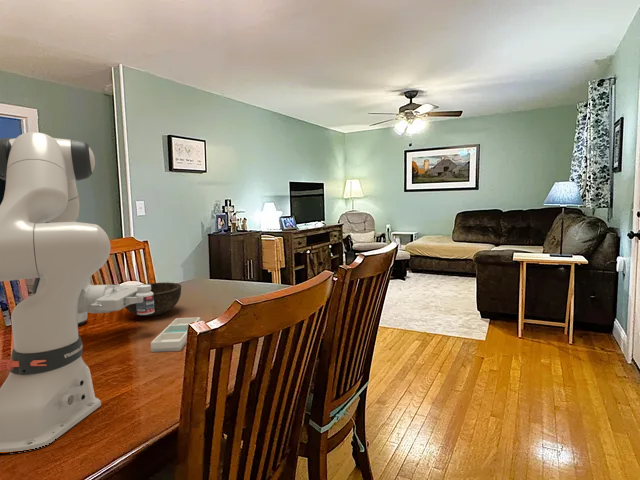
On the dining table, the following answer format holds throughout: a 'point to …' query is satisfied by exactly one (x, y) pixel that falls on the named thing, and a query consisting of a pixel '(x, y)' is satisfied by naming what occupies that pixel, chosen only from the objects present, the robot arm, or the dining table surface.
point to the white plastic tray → (173, 336)
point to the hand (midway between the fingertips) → (147, 296)
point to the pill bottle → (145, 300)
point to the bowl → (161, 297)
